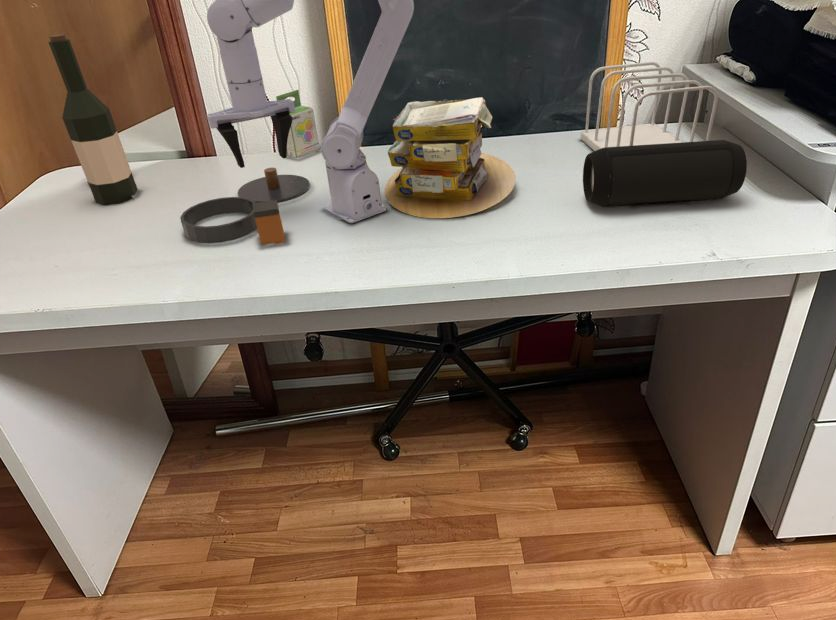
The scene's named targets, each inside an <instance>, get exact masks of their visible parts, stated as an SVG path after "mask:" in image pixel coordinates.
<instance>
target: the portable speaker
mask: <svg viewBox="0 0 836 620" xmlns="http://www.w3.org/2000/svg"><path fill="white" fill-rule="evenodd" d="M747 166H748V161H747V155H746V151H745V149H744V147H742V145H740V144H738V143H735V142H732V141H729V140H726V139H715V140H709V141H706V140H701V141H700V140H699V141H698V140H697V141H693V142H690V141H683V142H682V143H666V144H651V145H635V146H620V147H605V148H601V149H599V150H596V151H594V150H593V151H592V152H590V153H588V154H587V155H586V156H585V159H584V162H583V167H582V168H583V169H582V188H583V194H584V198H585V201H586V202H587V203H590V204H593V205H596V206H600V207H602V208H614V207H615V208H616V207H630V206H631V207H633V206H646V205H647V206H649V205H663V204H679V203H694V202H707V201H716V200H723V199H725V198H726V197H729V196H731V195H734V194H737V193H738V192H739V191H740V190H741V188H743V185H744V183H745V180H746V176H747V168H748V167H747Z"/></svg>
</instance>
